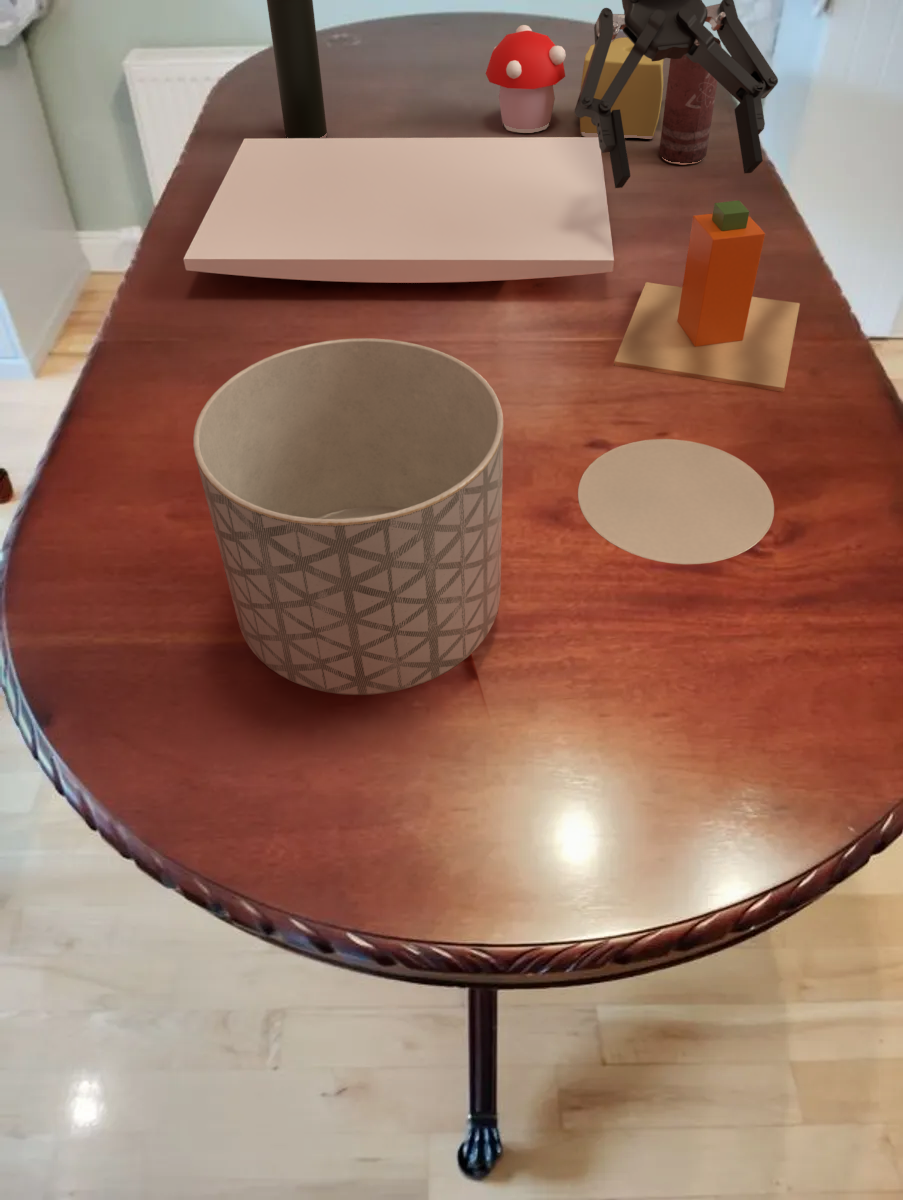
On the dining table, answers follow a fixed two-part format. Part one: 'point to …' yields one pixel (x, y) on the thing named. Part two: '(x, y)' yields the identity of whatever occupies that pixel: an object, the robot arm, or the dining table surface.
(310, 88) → the wine bottle
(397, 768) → the dining table surface
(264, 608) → the planter
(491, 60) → the mushroom
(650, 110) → the cheese
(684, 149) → the can
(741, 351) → the coaster
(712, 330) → the carrot block
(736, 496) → the plate
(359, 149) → the board
